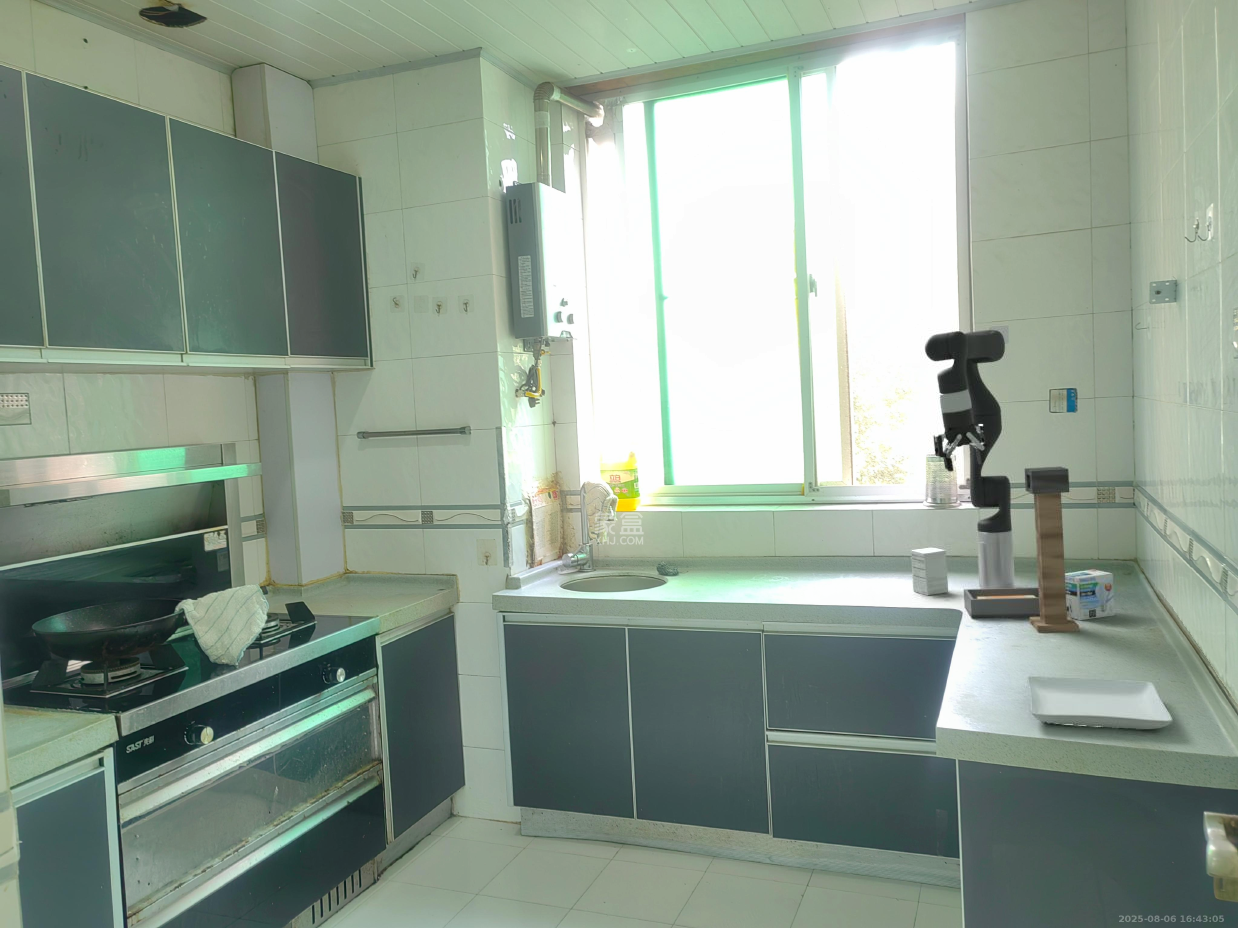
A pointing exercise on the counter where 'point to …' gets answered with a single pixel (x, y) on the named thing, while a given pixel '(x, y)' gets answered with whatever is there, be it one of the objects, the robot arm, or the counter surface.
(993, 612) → the tray
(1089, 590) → the light bulb box
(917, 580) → the supplement box
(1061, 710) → the salad plate
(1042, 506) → the stand
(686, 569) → the counter surface
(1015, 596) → the tan wooden bar
